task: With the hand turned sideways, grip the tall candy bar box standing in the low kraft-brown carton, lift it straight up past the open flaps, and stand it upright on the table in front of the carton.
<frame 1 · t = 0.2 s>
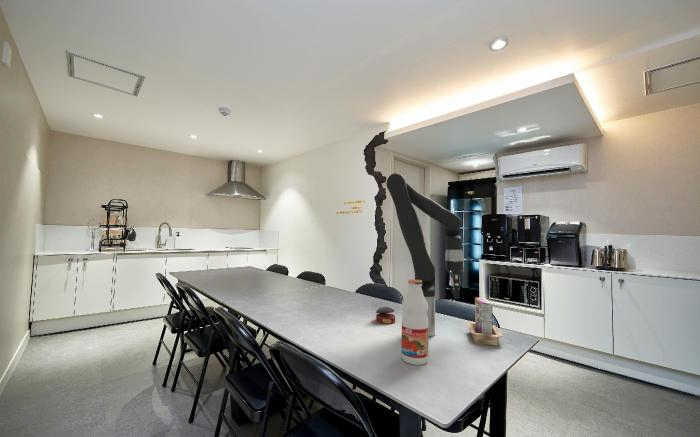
hand: (455, 296, 127), 18 cm above the table, tool pointing down, fingers open, 8 cm apart
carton: (483, 338, 126), on the table
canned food: (385, 322, 148), on the table
fruit juice: (414, 360, 102), on the table
candy bar box: (483, 338, 126), resting in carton
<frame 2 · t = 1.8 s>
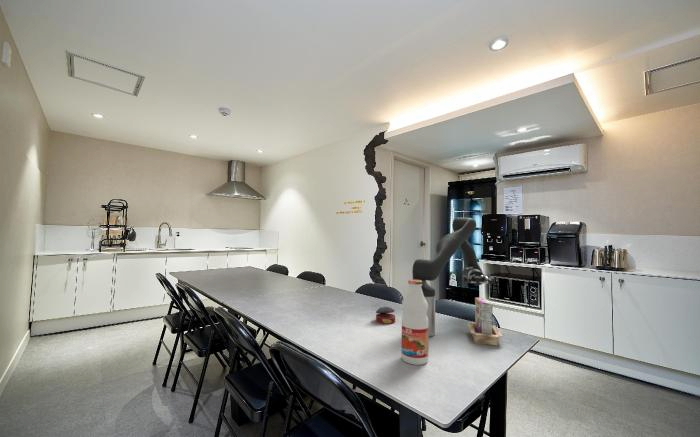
hand: (480, 281, 137), 23 cm above the table, tool horizontal, fingers open, 8 cm apart
nothing on the table moved.
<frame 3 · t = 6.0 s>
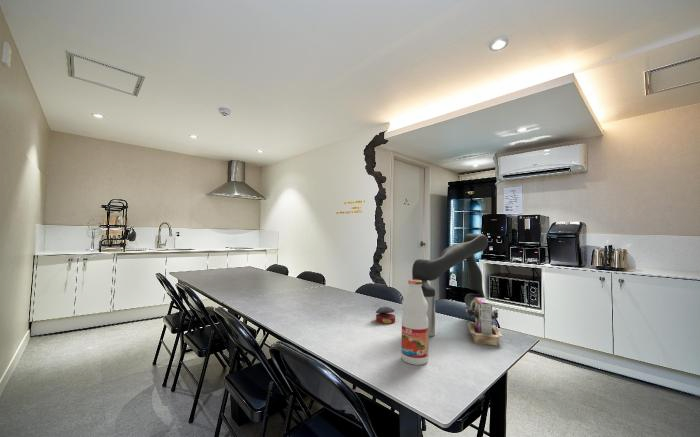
hand: (484, 316, 123), 10 cm above the table, tool horizontal, fingers closed on candy bar box, 5 cm apart
candy bar box: (483, 338, 126), resting in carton, touching gripper
everything else where it was.
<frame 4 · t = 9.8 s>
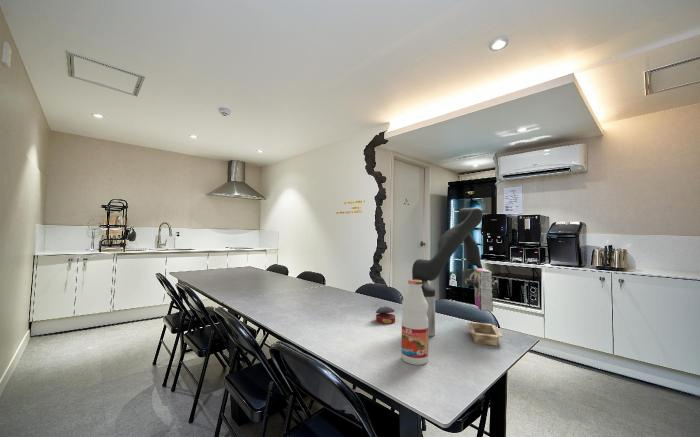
hand: (484, 286, 120), 24 cm above the table, tool horizontal, fingers closed on candy bar box, 5 cm apart
candy bar box: (483, 308, 123), point 13 cm above the table, touching gripper
everything else where it was.
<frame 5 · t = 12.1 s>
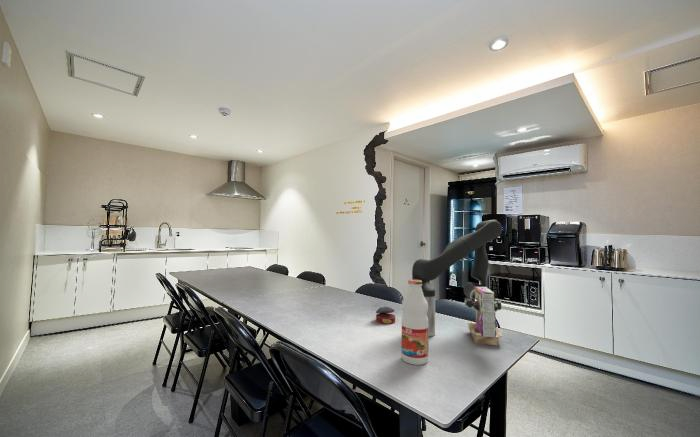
hand: (486, 308, 107), 18 cm above the table, tool horizontal, fingers closed on candy bar box, 5 cm apart
candy bar box: (485, 333, 110), point 7 cm above the table, touching gripper
everything else where it was.
when the fingers open (11 cm above the table, at t = 13.9 s): candy bar box stays where it is, on the table.
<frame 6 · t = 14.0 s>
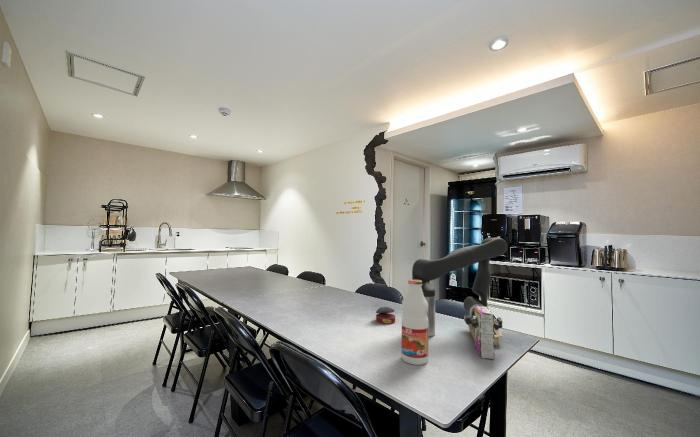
hand: (486, 326, 107), 11 cm above the table, tool horizontal, fingers open, 6 cm apart
candy bar box: (484, 353, 109), on the table
everything else where it was.
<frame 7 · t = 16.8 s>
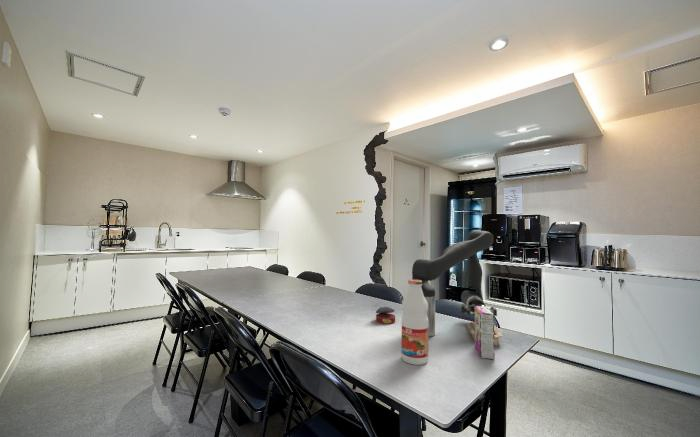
hand: (480, 313, 120), 12 cm above the table, tool horizontal, fingers open, 8 cm apart
nothing on the table moved.
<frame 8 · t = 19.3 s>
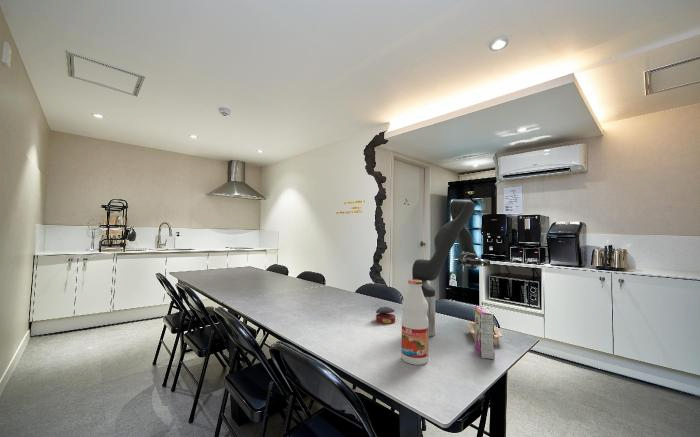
hand: (475, 263, 131), 32 cm above the table, tool horizontal, fingers open, 8 cm apart
nothing on the table moved.
at the end: candy bar box inside the target area (0.8 cm from its centre), on the table; candy bar box tilted 0°; the gripper is holding nothing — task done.
